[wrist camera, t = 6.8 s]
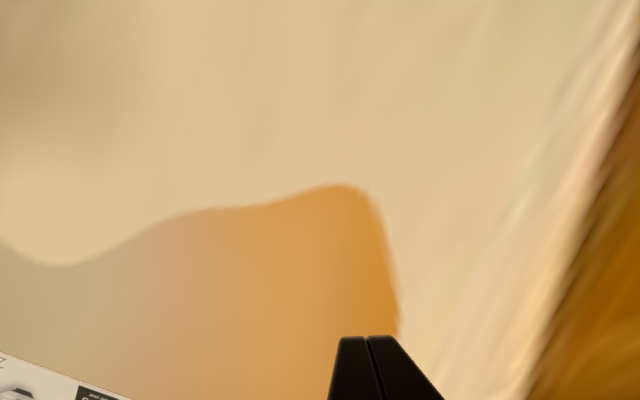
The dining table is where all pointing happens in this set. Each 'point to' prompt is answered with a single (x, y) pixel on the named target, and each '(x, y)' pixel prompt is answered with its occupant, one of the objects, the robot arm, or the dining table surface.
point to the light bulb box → (44, 383)
